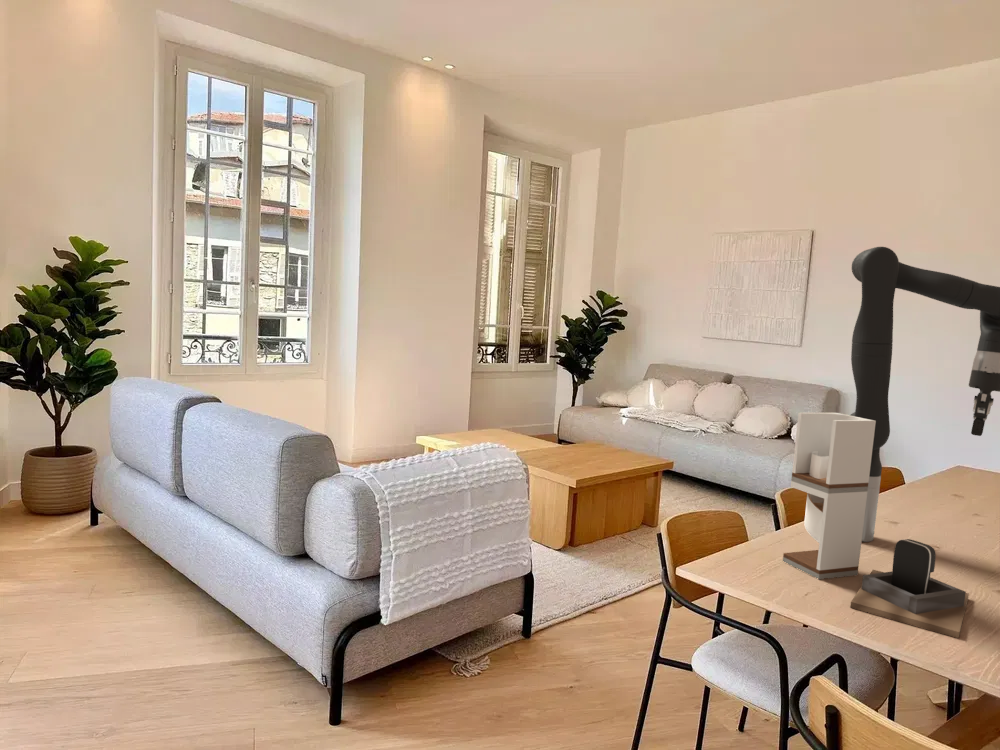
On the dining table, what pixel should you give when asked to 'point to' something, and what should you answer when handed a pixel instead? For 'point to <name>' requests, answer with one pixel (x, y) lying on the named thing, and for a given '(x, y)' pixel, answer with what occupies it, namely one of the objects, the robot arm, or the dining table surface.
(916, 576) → the battery charger
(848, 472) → the white shelf stand
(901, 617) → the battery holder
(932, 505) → the dining table surface
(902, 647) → the dining table surface
